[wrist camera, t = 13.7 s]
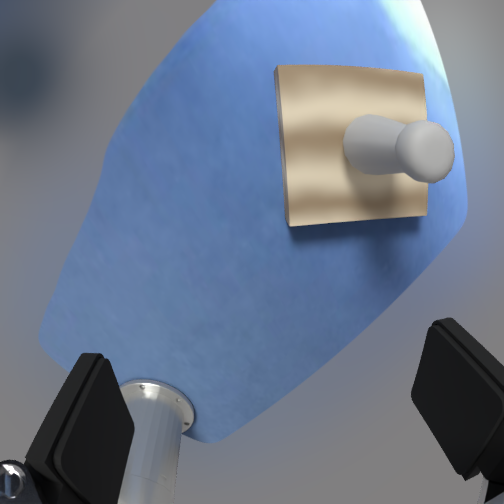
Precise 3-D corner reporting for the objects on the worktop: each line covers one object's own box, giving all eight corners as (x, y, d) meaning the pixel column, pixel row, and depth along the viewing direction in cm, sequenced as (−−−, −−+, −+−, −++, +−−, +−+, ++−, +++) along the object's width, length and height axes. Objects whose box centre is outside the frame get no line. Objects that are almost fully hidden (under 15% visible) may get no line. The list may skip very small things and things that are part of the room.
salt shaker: (360, 103, 28) (434, 90, 16) (398, 143, 30) (479, 155, 17) (324, 144, 29) (382, 151, 17) (363, 183, 31) (434, 214, 19)
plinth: (413, 209, 35) (426, 215, 32) (285, 219, 35) (289, 226, 32) (409, 77, 30) (422, 74, 27) (273, 71, 29) (277, 65, 26)
